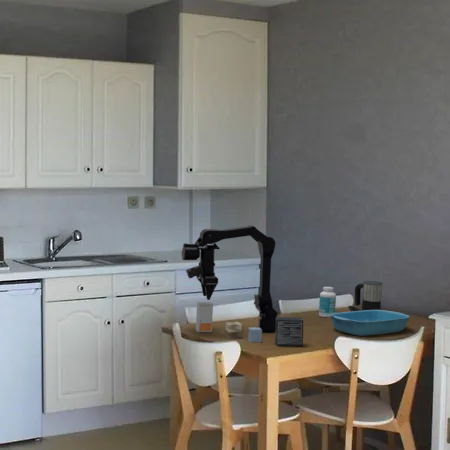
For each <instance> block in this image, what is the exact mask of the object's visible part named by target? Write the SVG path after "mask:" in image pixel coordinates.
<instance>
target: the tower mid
mask: <svg viewBox="0 0 450 450" xmlns="http://www.w3.org/2000/svg"><path fill="white" fill-rule="evenodd" d="M242 327H243V324H242V323H240V322H239V321H226V322H225V330H227V331H228V332H243V331H242V329H243V328H242Z"/></svg>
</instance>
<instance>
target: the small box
mask: <svg viewBox="0 0 450 450" xmlns="http://www.w3.org/2000/svg"><path fill="white" fill-rule="evenodd" d="M304 321H305V320H304V319H303V318H302V317H293V316H290V317H288V316H287V317H286V316H277V317H276V325H275V332H274V335H275V336H274V344H275V346H276V347H303V346H304Z"/></svg>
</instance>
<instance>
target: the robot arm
mask: <svg viewBox="0 0 450 450" xmlns="http://www.w3.org/2000/svg"><path fill="white" fill-rule="evenodd" d="M242 237H250V238H252V239H253V241H255V242H257V247H258V253H259V256H260V264H259V265H260V266H259V289H258V292H257V294H254V296H253V298H254V301H253V305H254V306H255V309H256V310H257V311H258V312H259V314H260V315H259V319H258V321H257V322H258V323H257V325H258V327H259V328H261V329H262V333H275V325H276V317H278V314H279V313H278V312H277V310H276V309H275V308H274V307H273V304H274V303H273V298H272V294H271V274H272V273H271V271H272V270H271V269H272V268H271V267H272V257H273V256H274V253H275V249H276V241H275V239H274V238H273V237H272V236H269V235H266V234H264V232H261V231H260V229H257V227H256V226H254V225H250V224H249V225H246V226H240V227H235V228H234V227H231V228H225V229H215V228H205V229H204V228H203V229H202V230H201V232H200V234H199V237H198V238H197V240H196V241H195V242H194V243H187V242H186V243H183V244H182V250H181V259H182V261H197V260H198V259H199V258H200V259H199V262H198V265H195V266H193V267H190V268H188V269H186V270H185V272H186V275H187V277H188V279H193V278H194V277H195V278H196V279H197V281H199V283H200V286H201V291H202V292H201V293H202V295H203V297H206V300H208V301H211V299H212V296H213V293H214V291H215V290H216V288H217V286H218V284H219V278H218V276H216V273H215V266H216V263H215V250H220V247H219V246H218V245H217V243H218V242H220V241H222V240H228V239H235V238H242Z"/></svg>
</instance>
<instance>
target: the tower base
mask: <svg viewBox="0 0 450 450" xmlns="http://www.w3.org/2000/svg"><path fill="white" fill-rule="evenodd" d="M243 334H244V331H242V332H228V331H227V330H226V329H224V337H225V338H227V339H229V340H237V339H238V340H239V339H243V338H244V337H243V336H244V335H243Z"/></svg>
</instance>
